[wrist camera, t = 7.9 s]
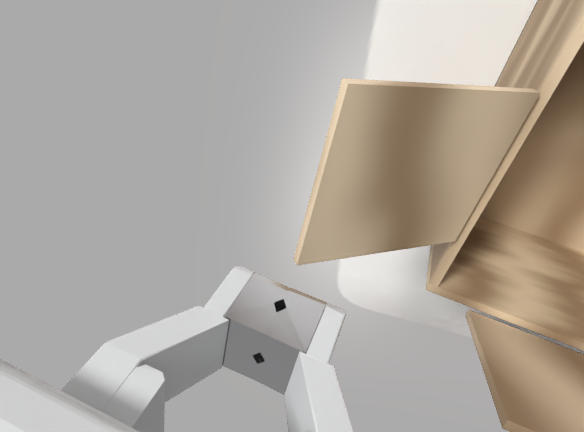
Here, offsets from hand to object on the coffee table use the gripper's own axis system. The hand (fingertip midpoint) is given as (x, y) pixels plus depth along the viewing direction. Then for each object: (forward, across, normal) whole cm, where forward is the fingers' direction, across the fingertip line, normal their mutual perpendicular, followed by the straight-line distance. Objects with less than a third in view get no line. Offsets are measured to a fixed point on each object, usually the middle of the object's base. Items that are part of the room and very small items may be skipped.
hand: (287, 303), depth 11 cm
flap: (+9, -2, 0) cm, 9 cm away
